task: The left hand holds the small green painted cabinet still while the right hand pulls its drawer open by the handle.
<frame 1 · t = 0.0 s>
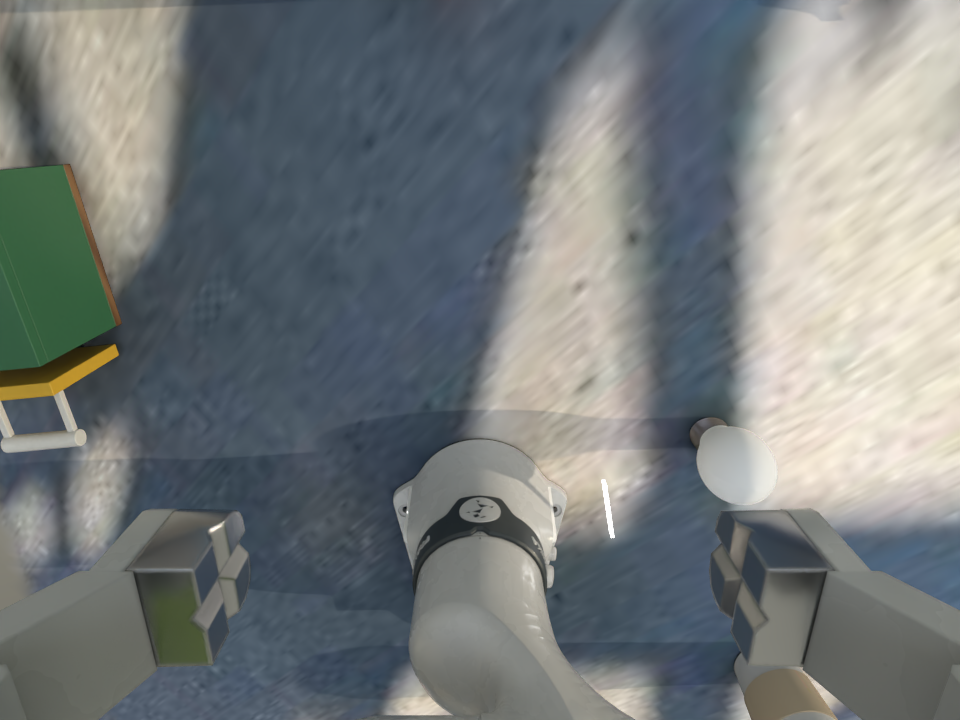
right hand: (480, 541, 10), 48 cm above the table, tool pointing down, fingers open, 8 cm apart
cabinet: (40, 253, 57), on the table
drawer: (22, 339, 54), point 6 cm above the table, slide at 1.7 cm
coffee cup: (761, 662, 75), on the table
light bulb: (709, 430, 63), on the table
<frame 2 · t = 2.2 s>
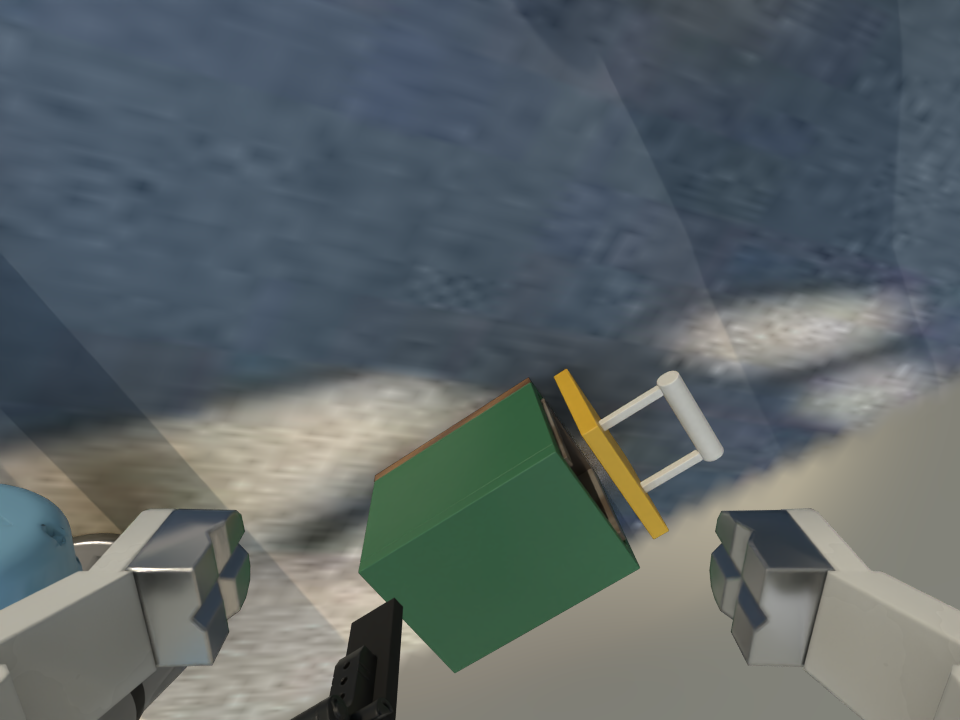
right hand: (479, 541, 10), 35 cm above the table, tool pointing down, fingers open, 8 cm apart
cabinet: (487, 475, 50), on the table
drawer: (569, 471, 44), point 6 cm above the table, slide at 1.7 cm
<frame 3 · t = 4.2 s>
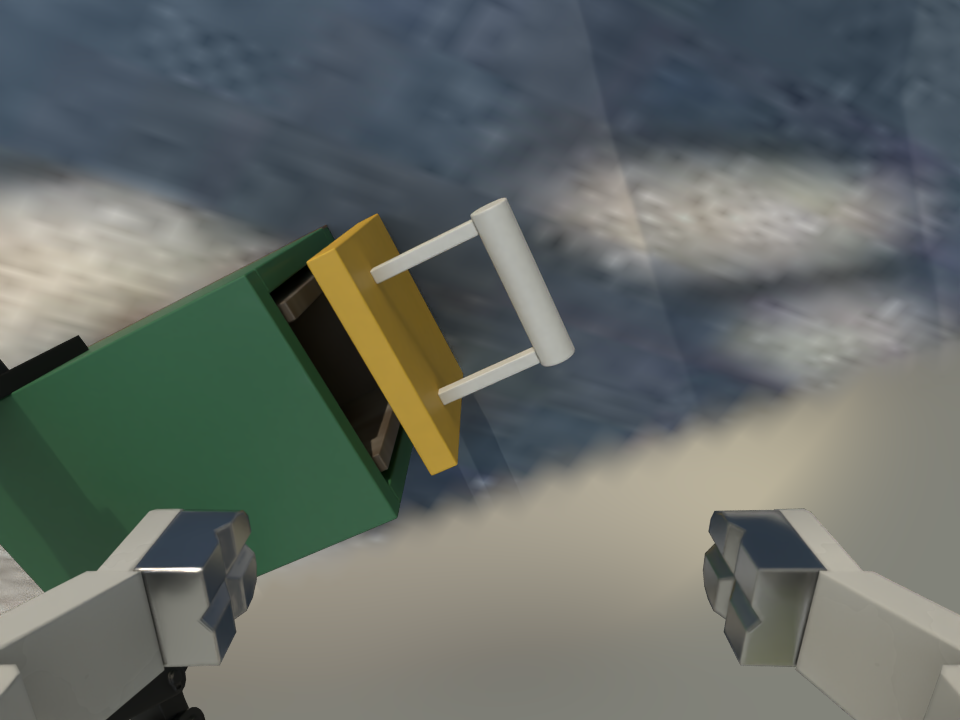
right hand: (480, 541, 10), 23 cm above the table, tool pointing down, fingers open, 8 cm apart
cabinet: (261, 370, 34), on the table, touching left hand
drawer: (340, 359, 28), point 6 cm above the table, slide at 1.7 cm
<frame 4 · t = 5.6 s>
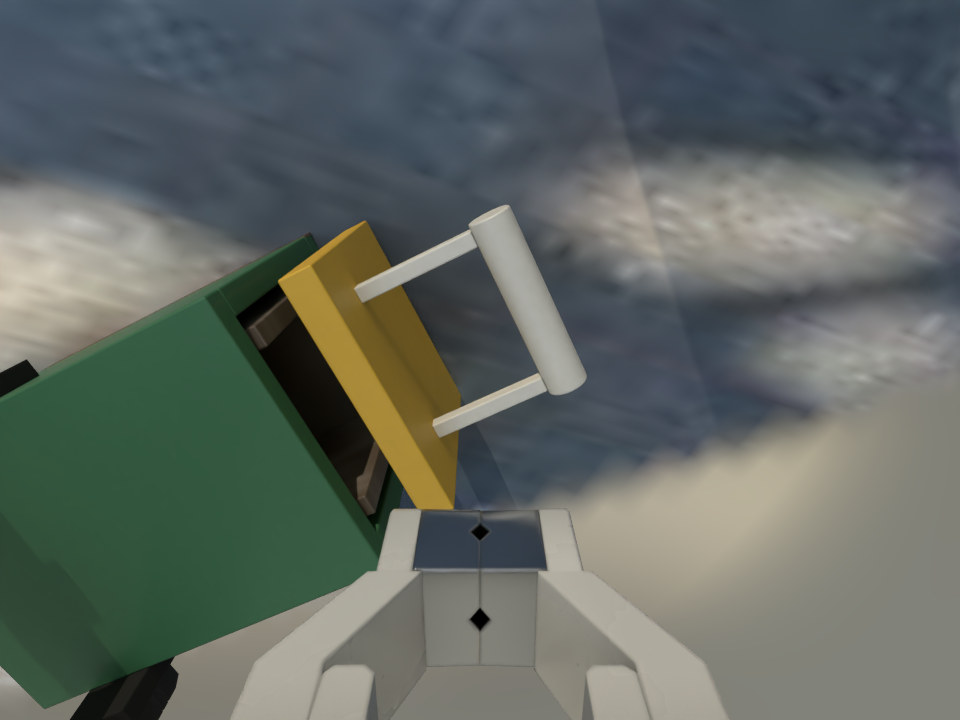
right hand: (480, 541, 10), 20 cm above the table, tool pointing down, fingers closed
cabinet: (240, 391, 31), on the table, touching left hand
drawer: (323, 384, 25), point 6 cm above the table, slide at 1.7 cm
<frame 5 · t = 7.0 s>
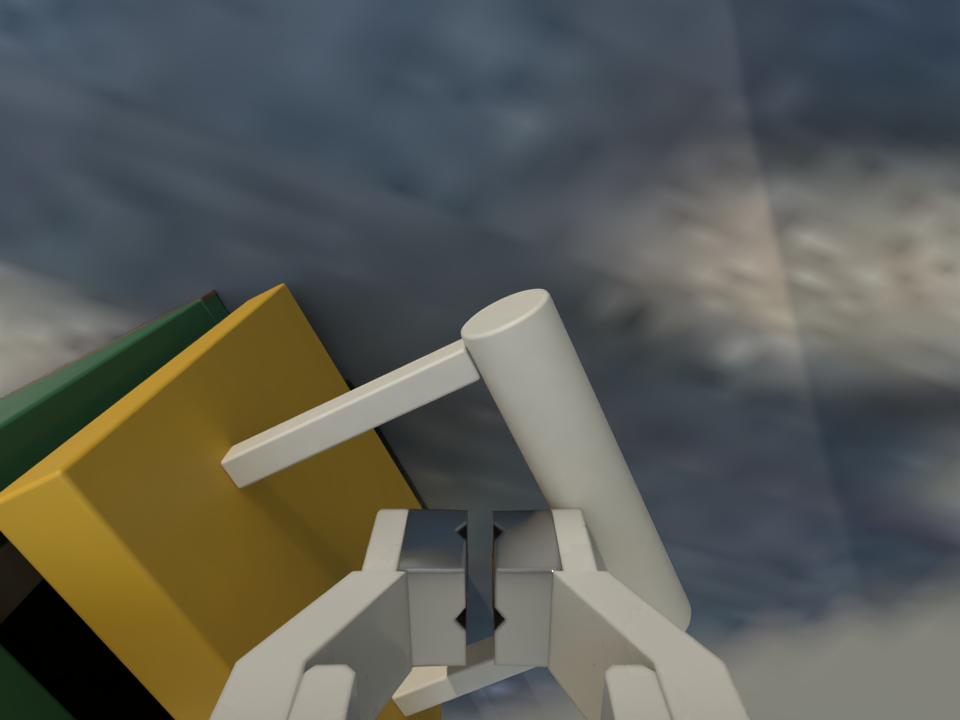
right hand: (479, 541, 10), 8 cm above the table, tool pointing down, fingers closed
cabinet: (117, 531, 20), on the table, touching left hand
drawer: (197, 590, 14), point 6 cm above the table, slide at 1.1 cm, touching right hand
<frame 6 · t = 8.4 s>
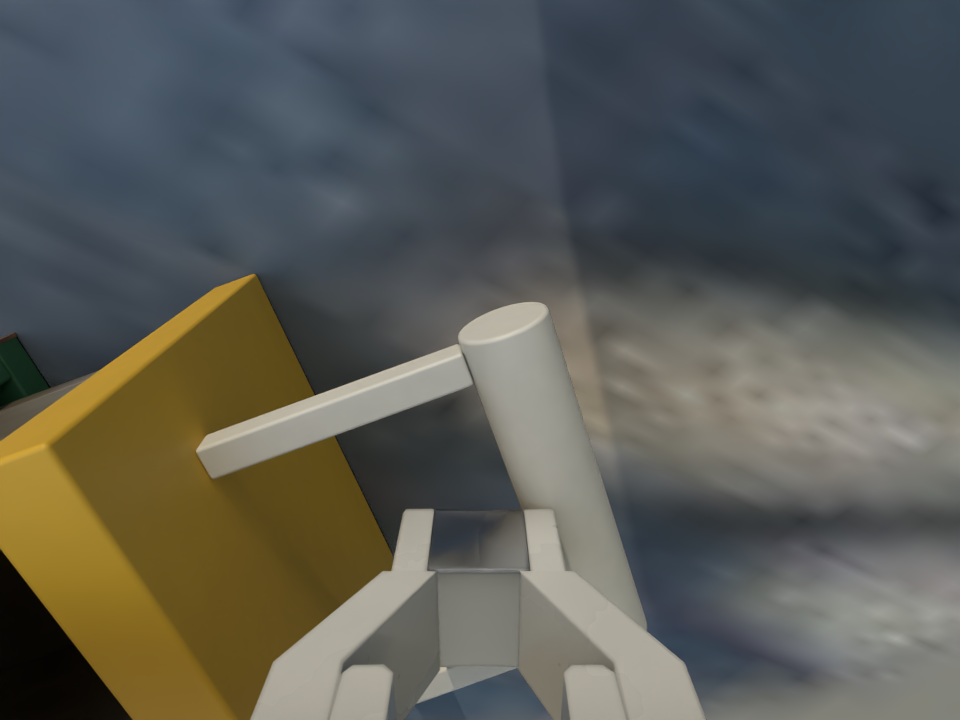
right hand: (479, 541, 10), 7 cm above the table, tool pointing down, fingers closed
drawer: (138, 587, 13), point 5 cm above the table, slide at 5.8 cm, touching right hand
when the left hand's fingers open (7 cm above the table, at t = 10.2 s): cabinet stays where it is, on the table.
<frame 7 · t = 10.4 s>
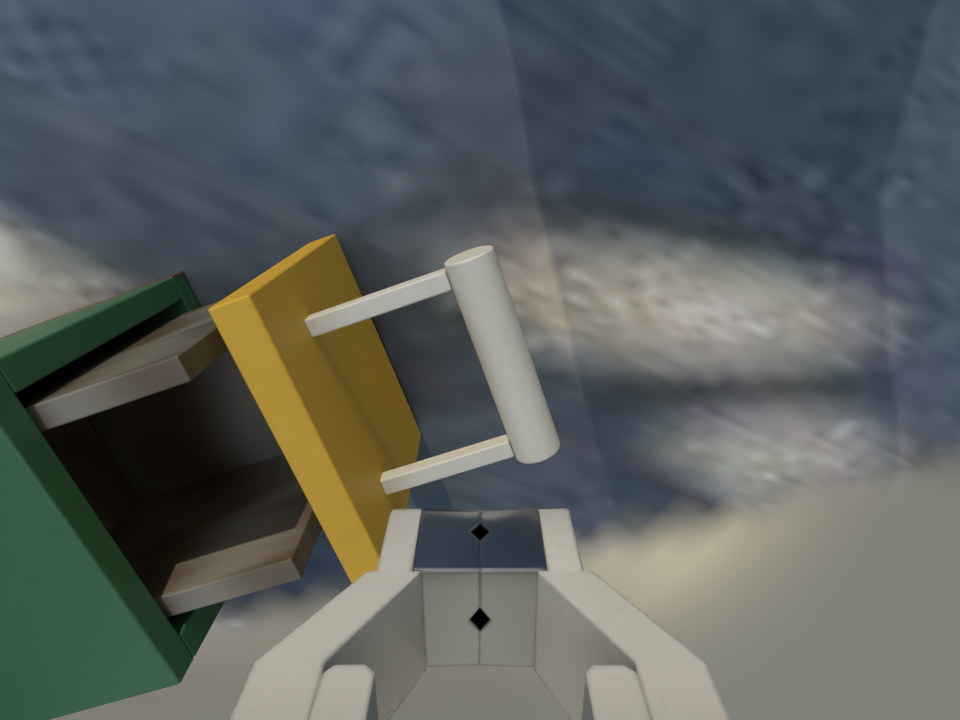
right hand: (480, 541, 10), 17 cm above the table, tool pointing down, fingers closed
cabinet: (98, 429, 28), on the table
drawer: (263, 416, 22), point 6 cm above the table, slide at 5.9 cm
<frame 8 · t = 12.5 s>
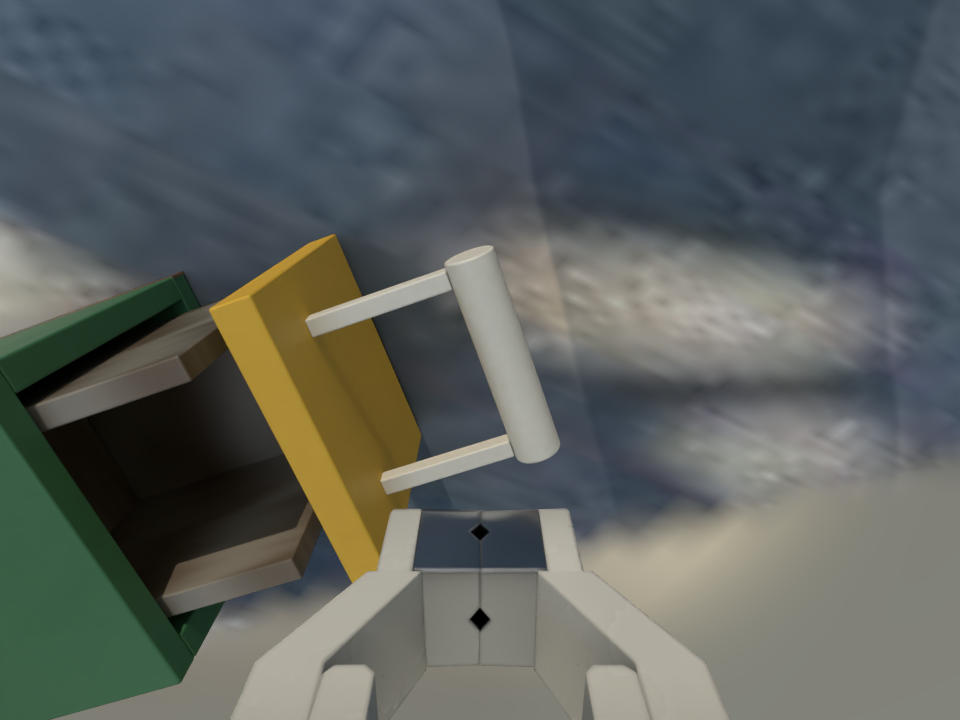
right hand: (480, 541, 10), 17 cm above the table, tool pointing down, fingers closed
cabinet: (98, 429, 28), on the table
drawer: (264, 416, 22), point 6 cm above the table, slide at 5.9 cm
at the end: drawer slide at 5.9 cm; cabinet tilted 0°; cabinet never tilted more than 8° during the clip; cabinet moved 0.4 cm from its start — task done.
